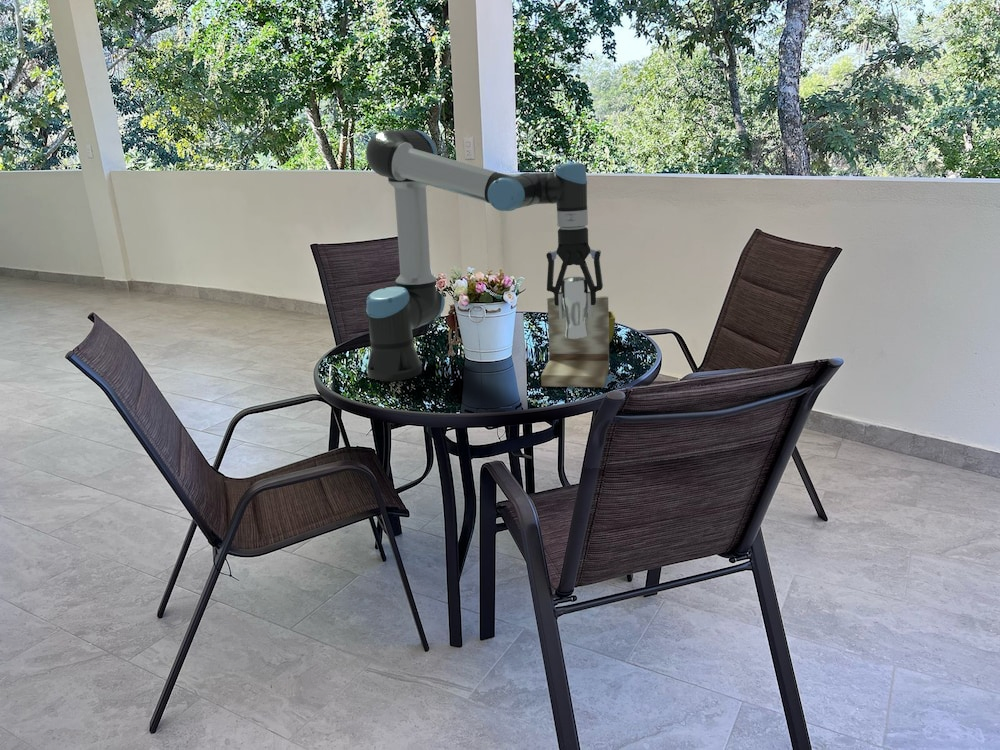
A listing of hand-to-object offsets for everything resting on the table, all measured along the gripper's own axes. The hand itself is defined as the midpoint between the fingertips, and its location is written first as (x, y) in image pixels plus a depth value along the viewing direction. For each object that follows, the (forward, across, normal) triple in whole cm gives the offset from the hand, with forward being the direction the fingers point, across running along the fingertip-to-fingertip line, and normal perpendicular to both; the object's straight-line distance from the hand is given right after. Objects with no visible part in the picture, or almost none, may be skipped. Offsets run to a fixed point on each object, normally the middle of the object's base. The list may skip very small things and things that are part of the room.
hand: (575, 317), depth 197 cm
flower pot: (+16, +3, +33) cm, 37 cm away
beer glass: (+5, 0, 0) cm, 5 cm away
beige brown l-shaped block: (+16, 0, -1) cm, 16 cm away
